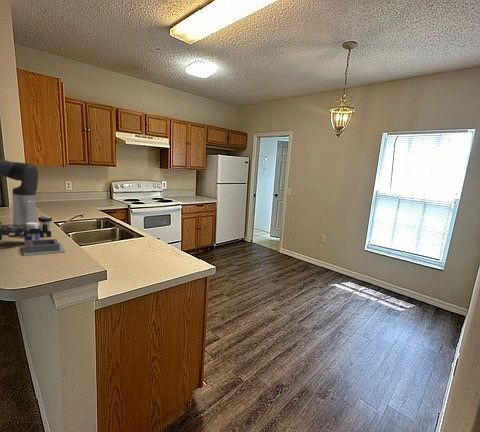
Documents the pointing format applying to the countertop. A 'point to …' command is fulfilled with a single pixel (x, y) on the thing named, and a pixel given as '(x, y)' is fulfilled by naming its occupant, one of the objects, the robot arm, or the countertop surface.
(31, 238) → the pill bottle
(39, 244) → the socket
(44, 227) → the push button
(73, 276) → the countertop surface
